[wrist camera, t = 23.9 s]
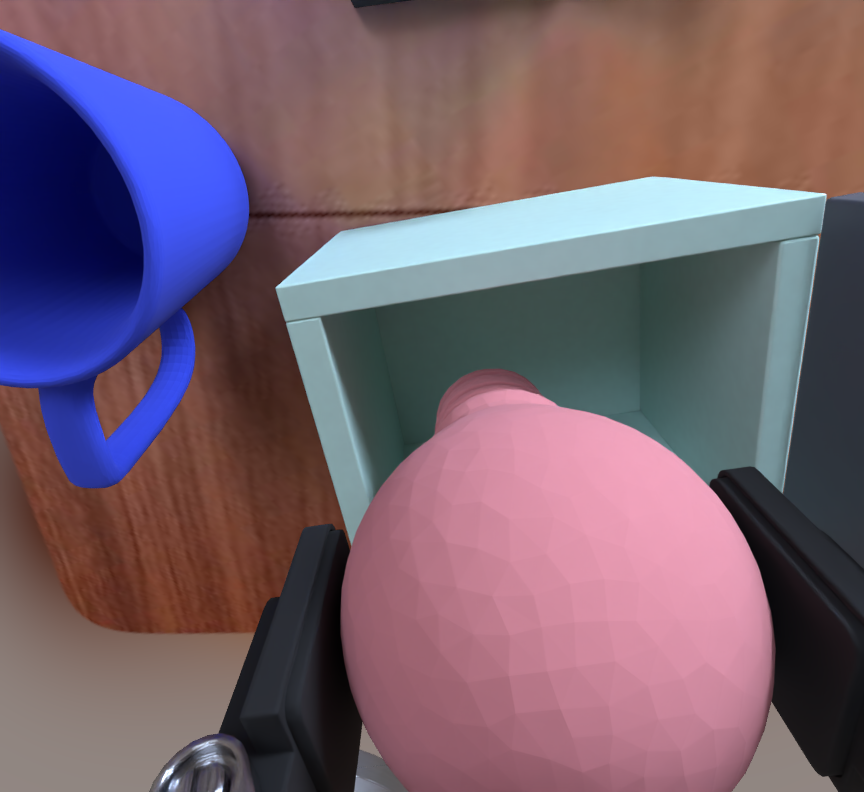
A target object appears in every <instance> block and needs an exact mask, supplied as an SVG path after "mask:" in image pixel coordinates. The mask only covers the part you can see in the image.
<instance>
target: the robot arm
mask: <svg viewBox="0 0 864 792" xmlns="http://www.w3.org/2000/svg"><path fill="white" fill-rule="evenodd" d="M709 487H710V488H711V489H712V490H713V491H714V492H715V493H716V495H717V496H718V497H719V499H720V500H721V501H722V503H723V504H724V505H725V507H726V508H727V509H728V511H729V512H730V513H731V515H732V517H733V518H734V520H735V522H736V523H737V525H738V527H739V528H740V530H741V532H742V534H743V535H744V537H745V539H746V541H747V543H748V545H749V547H750V549H751V552H752V554H753V556H754V558H755V560H756V562H757V565H758V567H759V570H760V573H761V577H762V580H763V584H764V588H765V591H766V595H767V598H768V602H769V606H770V609H771V614H772V621H773V629H774V638H775V647H776V653H775V675H774V688H773V696H772V703H773V704H774V706H775V708H776V709H777V711H778V712H779V714H780V716H781V717H782V719H783V721H784V722H785V724H786V725H787V727H788V729H789V730H790V732H791V733H792V735H793V737H794V738H795V740H796V741H797V743H798V745H799V746H800V748H801V750H802V751H803V753H804V754H805V756H806V758H807V759H808V761H809V762H810V764H811V766H812V767H813V768H814V770H815V771H816V772H817V773H818V774H819V775H821V776H823V777H824V776H829V778H830V779H831V781H832V782H833V784H834V786H835V787H836V789H837V790H838V792H864V569H863V568H862V567H861V566H860V565H859V564H858V563H857V562H856V561H855V560H854V559H853V558H852V557H851V556H850V555H849V554H848V553H847V552H846V551H844V550H843V549H842V548H841V547H840V546H839V545H838V544H837V543H836V542H835V541H834V540H833V539H832V538H831V537H830V536H829V535H827V534H826V533H825V532H823V531H822V530H819V529H818V528H817V527H816V526H815V525H814V524H813V523H812V522H811V521H810V520H809V519H808V518H807V517H806V516H805V515H804V514H803V513H802V512H801V511H800V510H799V509H798V508H797V507H796V506H795V505H794V504H793V503H792V502H791V501H790V500H789V499H787V498H786V497H785V496H784V495H783V494H782V493H781V492H780V491H779V490H778V489H777V488H776V487H775V486H774V485H773V484H772V483H771V482H770V481H769V480H768V479H767V478H766V477H765V476H764V475H763V474H762V473H761V472H760V471H759V470H757V469H756V468H755V467H751V466H749V467H741V468H734V469H727V470H722V471H720V472H719V474H718V477H717V478H716V479H712V480H711V481H710V485H709ZM349 554H350V549H349V546H348V543H347V539H346V536H345V533H344V531H343V530H335V527H334V526H333V524H325V525H318V526H311V527H305V528H304V529H303V531H302V534H301V537H300V540H299V543H298V546H297V548H296V551H295V554H294V557H293V560H292V563H291V566H290V569H289V572H288V575H287V578H286V581H285V584H284V587H283V590H282V593H281V596H280V597H275V598H271V599H270V600H269V601H268V602H267V603H266V606H265V608H264V610H263V613H262V615H261V618H260V621H259V624H258V626H257V629H256V632H255V635H254V637H253V640H252V643H251V646H250V649H249V651H248V654H247V657H246V660H245V662H244V665H243V668H242V670H241V673H240V676H239V679H238V681H237V684H236V687H235V690H234V692H233V695H232V698H231V701H230V703H229V706H228V709H227V712H226V714H225V717H224V720H223V722H222V725H221V728H220V731H219V733H218V734H213V735H207V736H205V737H202V738H200V739H198V740H195V741H193V742H191V743H190V744H189V745H187V746H186V747H184V748H183V749H182V750H180V751H179V752H177V753H176V754H175V755H174V756H173V757H172V758H171V759H170V760H169V762H168V763H167V764H166V765H165V766H164V767H163V769H162V770H161V771H160V773H159V775H158V776H157V777H156V779H155V780H154V782H153V784H152V787H151V789H150V791H149V792H354V789H355V781H356V772H357V764H358V755H359V746H360V738H361V729H362V719H361V717H360V715H359V712H358V709H357V706H356V703H355V701H354V698H353V695H352V692H351V689H350V685H349V681H348V677H347V672H346V668H345V664H344V657H343V650H342V643H341V636H340V610H341V592H342V584H343V579H344V574H345V569H346V564H347V560H348V557H349Z"/></svg>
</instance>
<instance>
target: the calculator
mask: <svg viewBox="0 0 864 792" xmlns="http://www.w3.org/2000/svg"><path fill="white" fill-rule="evenodd" d="M402 1H410V0H351V2H352V3H353V5H354V7H355V8H357V7H364V6H372V5H380V4H387V3H395V2H402Z"/></svg>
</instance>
